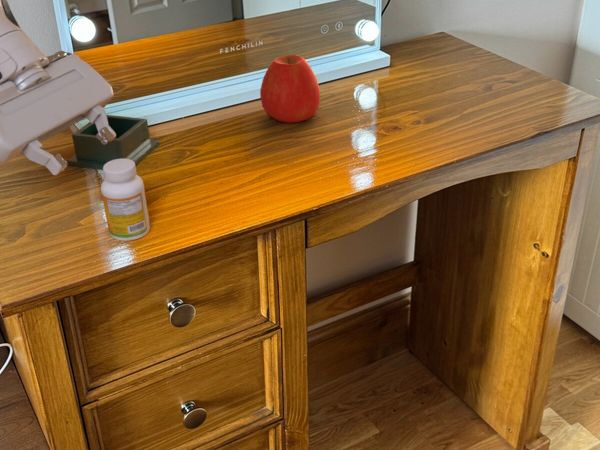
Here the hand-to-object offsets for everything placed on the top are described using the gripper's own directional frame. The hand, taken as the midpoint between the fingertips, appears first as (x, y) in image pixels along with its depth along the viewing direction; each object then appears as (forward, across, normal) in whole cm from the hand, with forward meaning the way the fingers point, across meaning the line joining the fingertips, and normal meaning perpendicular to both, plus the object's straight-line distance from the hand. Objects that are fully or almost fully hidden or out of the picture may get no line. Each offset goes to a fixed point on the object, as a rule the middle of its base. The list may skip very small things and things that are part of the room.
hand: (87, 155), depth 97 cm
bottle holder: (-1, -18, -16) cm, 24 cm away
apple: (+12, -43, -2) cm, 44 cm away
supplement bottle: (+11, 0, -4) cm, 11 cm away
